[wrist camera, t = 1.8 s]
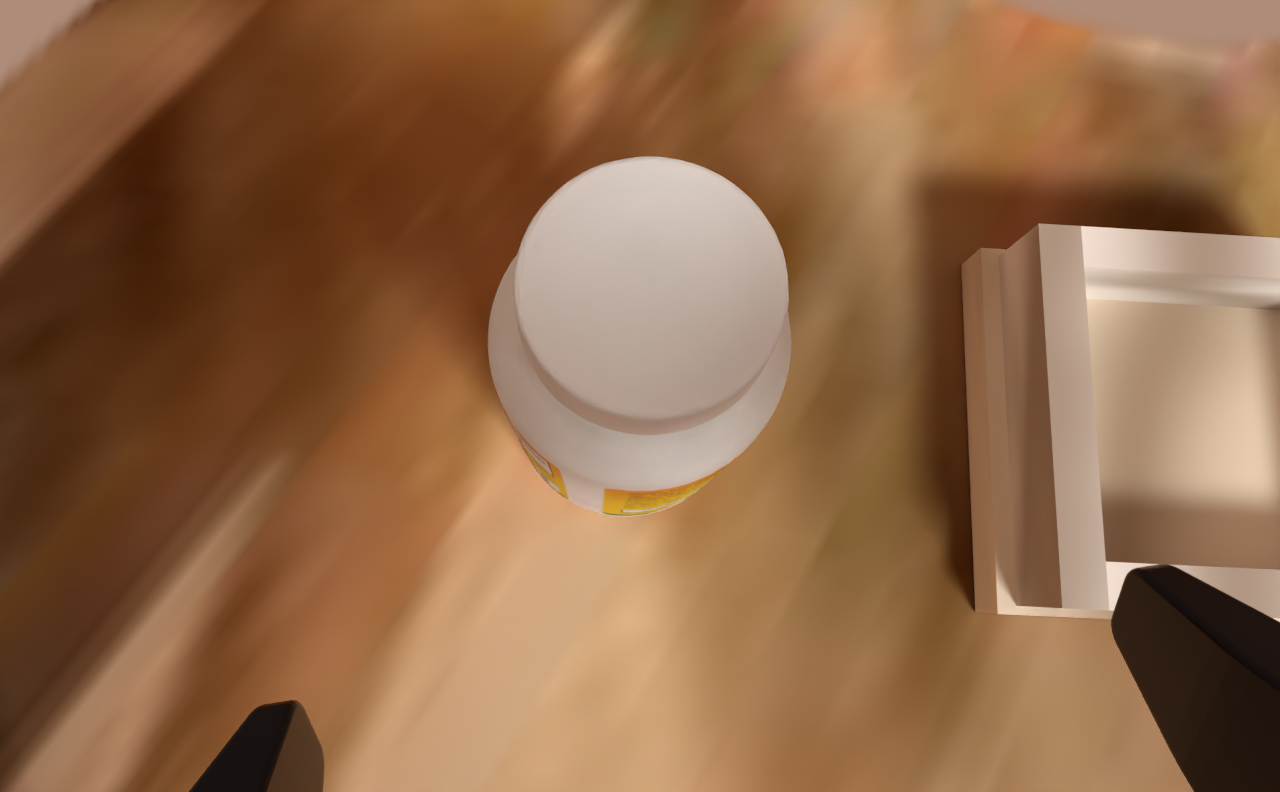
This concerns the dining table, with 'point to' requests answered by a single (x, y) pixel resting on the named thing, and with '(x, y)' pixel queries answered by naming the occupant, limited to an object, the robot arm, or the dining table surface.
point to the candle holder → (1122, 416)
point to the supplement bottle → (641, 333)
